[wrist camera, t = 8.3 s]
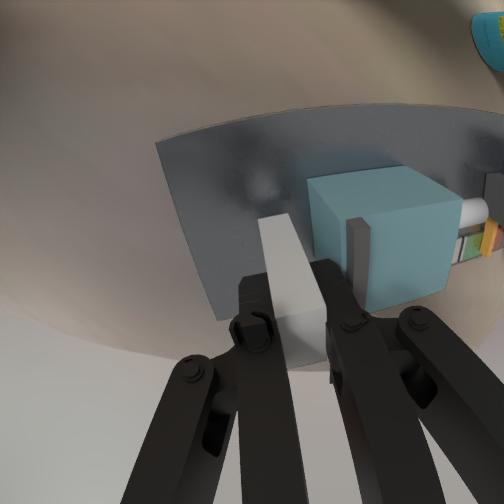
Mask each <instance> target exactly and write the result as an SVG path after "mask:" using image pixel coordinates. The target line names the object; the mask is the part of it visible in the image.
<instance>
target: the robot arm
mask: <svg viewBox="0 0 504 504" xmlns="http://www.w3.org/2000/svg"><path fill="white" fill-rule="evenodd" d="M258 224H259V229H260V235H261V240H262V246H263V252H264V257H265V263H266V269H267V272H264V273H259V274H254V275H249V276H244V277H243V278H242V280H241V282H240V283H239V285H238V295H239V297H238V298H239V314H238V315H236V316H235V317H234V319H233V320H232V321H231V322H230V326H229V331H230V334H231V336H232V339H233V341H234V344H235V345H234V347H233V348H231V349H230V350H229V351H228V352H226V353H224V354H222V355H220V356H217V357H215V358H212V359H209V358H207V357H206V356H203V355H199V354H198V355H190V356H187V357H185V358H183V359H182V360H180V361H179V362H178V363H177V364H176V366H175V367H174V369H173V371H172V373H171V375H170V378H169V380H168V383H167V385H166V388H165V390H164V392H163V395H162V397H161V400H160V402H159V404H158V407H157V409H156V412H155V414H154V417H153V419H152V422H151V424H150V427H149V429H148V432H147V434H146V437H145V439H144V442H143V444H142V447H141V450H140V452H139V455H138V457H137V460H136V463H135V465H134V468H133V471H132V473H131V476H130V478H129V481H128V484H127V486H126V490H125V492H124V495H123V498H122V500H121V503H120V504H213V501H214V497H215V493H216V490H217V486H218V482H219V479H220V474H221V471H222V467H223V463H224V459H225V456H226V451H227V447H228V444H229V440H230V436H231V432H232V428H233V424H234V420H235V416H236V412H237V411H238V424H239V425H238V426H239V446H240V447H239V449H240V468H241V487H242V504H309V499H308V493H307V487H306V480H305V473H304V467H303V461H302V455H301V449H300V442H299V436H298V430H297V424H296V418H295V412H294V406H293V400H292V395H291V389H290V384H289V378H288V373H287V369H290V368H295V367H300V366H304V365H309V364H314V363H318V362H322V361H326V360H327V356H328V359H329V362H330V384H332V383H333V385H334V388H335V392H336V396H337V399H338V403H339V407H340V411H341V414H342V418H343V422H344V426H345V430H346V434H347V438H348V442H349V446H350V450H351V454H352V458H353V462H354V466H355V471H356V475H357V480H358V484H359V489H360V494H361V498H362V503H363V504H446V502H445V498H444V494H443V491H442V487H441V484H440V480H439V477H438V473H437V470H436V467H435V464H434V461H433V458H432V455H431V452H430V449H429V446H428V443H427V440H426V438H425V435H424V432H423V430H422V427H421V424H420V422H419V419H420V421H421V422H422V423H423V425H424V426H425V427H426V429H427V430H428V431H429V433H430V434H431V436H432V437H433V438H434V440H435V441H436V443H437V444H438V445H439V447H440V448H441V450H442V451H443V452H444V454H445V455H446V457H447V458H448V459H449V461H450V462H451V464H452V465H453V467H454V468H455V470H456V471H457V473H458V474H459V475H460V477H461V478H462V480H463V481H464V483H465V484H466V486H467V487H468V489H469V490H470V492H471V493H472V495H473V496H474V498H475V499H476V501H477V502H478V504H504V384H503V383H502V382H501V381H500V380H499V379H498V378H497V377H496V375H495V374H494V373H493V372H492V371H491V370H490V369H489V368H488V367H487V366H486V364H485V363H484V362H483V361H482V360H481V359H480V358H479V357H478V356H477V355H476V354H475V353H474V352H473V351H472V350H471V349H470V348H469V347H468V346H467V345H466V344H465V343H464V342H463V341H462V340H461V339H460V338H459V337H458V336H457V335H456V334H455V333H454V332H453V331H452V330H451V329H450V328H449V327H448V326H447V325H446V324H445V323H444V322H443V321H442V320H441V319H440V318H439V317H437V316H436V315H435V314H434V313H433V312H432V311H430V310H429V309H427V308H425V307H422V306H411V307H408V308H406V309H404V310H403V311H402V312H401V313H400V316H399V318H376V317H373V316H371V315H370V314H369V312H367V311H365V310H364V309H362V308H361V307H360V306H359V304H358V302H357V300H356V298H355V296H354V294H353V292H352V290H351V289H350V287H349V285H348V283H347V281H346V279H345V277H344V275H343V274H342V272H341V270H340V268H339V266H338V264H336V263H335V262H334V261H332V260H331V259H329V258H327V259H323V260H318V261H313V262H308V259H307V257H306V255H305V252H304V250H303V247H302V245H301V243H300V240H299V238H298V236H297V233H296V231H295V229H294V226H293V224H292V222H291V219H290V217H289V215H288V213H286V214H281V215H276V216H271V217H266V218H261V219H258ZM418 418H419V419H418Z"/></svg>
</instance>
